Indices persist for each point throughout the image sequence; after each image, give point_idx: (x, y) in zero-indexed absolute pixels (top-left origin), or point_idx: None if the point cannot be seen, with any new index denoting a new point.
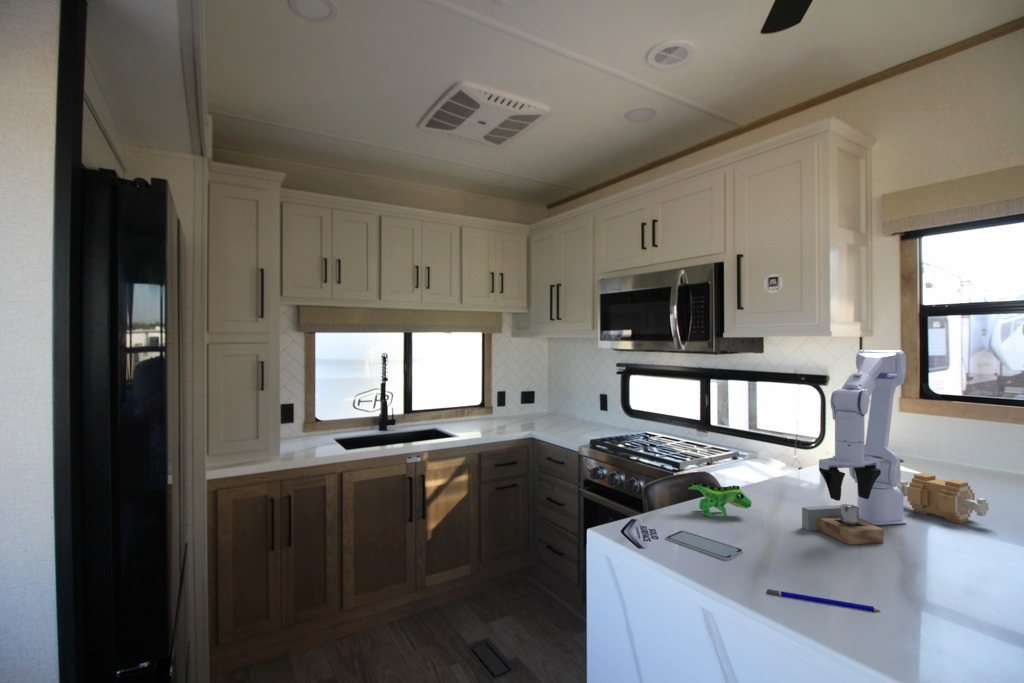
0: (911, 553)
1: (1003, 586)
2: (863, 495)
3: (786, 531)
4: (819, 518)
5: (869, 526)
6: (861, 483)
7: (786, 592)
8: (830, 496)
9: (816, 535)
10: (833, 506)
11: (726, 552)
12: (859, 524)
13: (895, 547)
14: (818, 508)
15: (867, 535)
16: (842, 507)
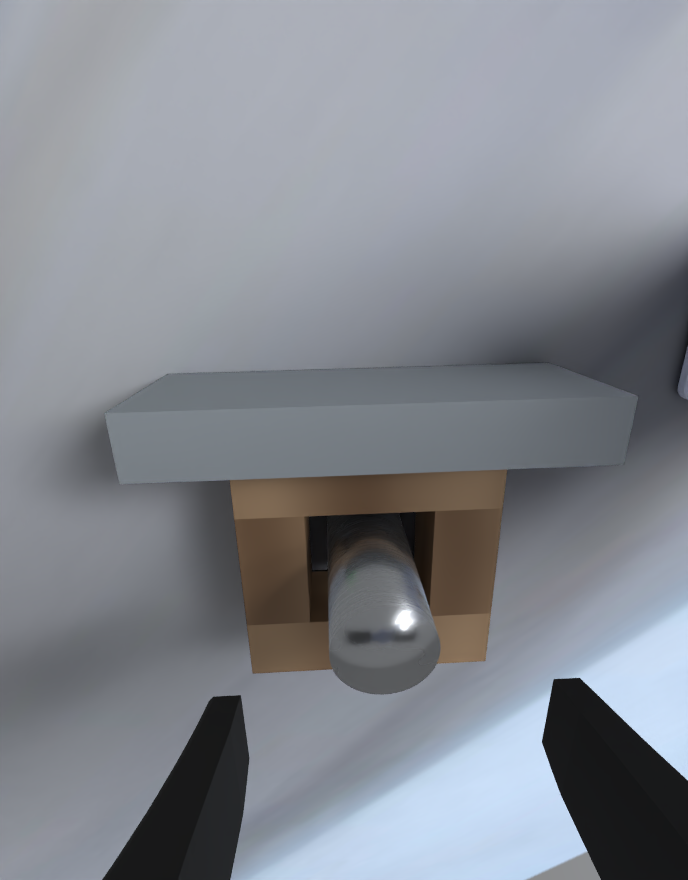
0: (472, 696)
1: (501, 874)
2: (560, 744)
3: (23, 422)
4: None
5: (443, 624)
6: (655, 875)
7: None
8: (203, 715)
9: (180, 494)
10: (421, 424)
11: None
12: (429, 573)
13: None
14: (240, 459)
15: None
16: (330, 637)
